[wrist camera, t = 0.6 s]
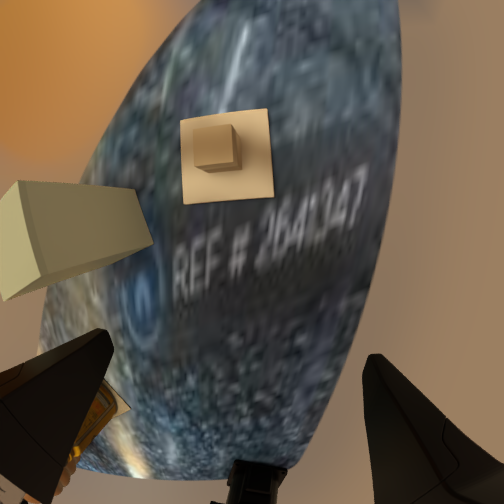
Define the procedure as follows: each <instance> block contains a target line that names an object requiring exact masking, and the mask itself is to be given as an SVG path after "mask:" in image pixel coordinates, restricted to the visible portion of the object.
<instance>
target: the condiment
mask: <svg viewBox="0 0 504 504" xmlns="http://www.w3.org/2000/svg"><path fill="white" fill-rule="evenodd" d="M128 410H130V408H129V407H128V405H127V404H126V403H125V402H124V401H123V400H122V399H121V398H120V397H119V396H118V395H117V393H116V392H115V391H114V390H113V389H112V388H111V386H110V385H109V384H107V383H106V381H105V380H104V379H103V381H102V384H101V386H100V388H99V391H98V393H97V395H96V397H95V399H94V401H93V403H92V405H91V407H90V409H89V411H88V414H87V416H86V418H85V420H84V422H83V424H82V427H81V429H80V431H79V433H78V436H77V438H76V440H75V443H74V445H73V447H72V450H71V452H70V454H69V457H68V459H67V462H66V464H65V467H66V465H67V464H68V462H69V461H71V460H72V459H73V457H76V456H79V455H81V453H83V451H84V450H85V449H86V447H87V446H88V445H89V444H90V443H91V442H92V441H93V439H94V438H95V437H96V436H97V435H98V434H99V433H100V431H101V430H102V429H103V428H104V427H105V425H106V424H107V423H108V422H109V421H110V420H111V419H112V418H114V417H116V416H118V415H120V414H122V413H124V412H126V411H128Z"/></svg>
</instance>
